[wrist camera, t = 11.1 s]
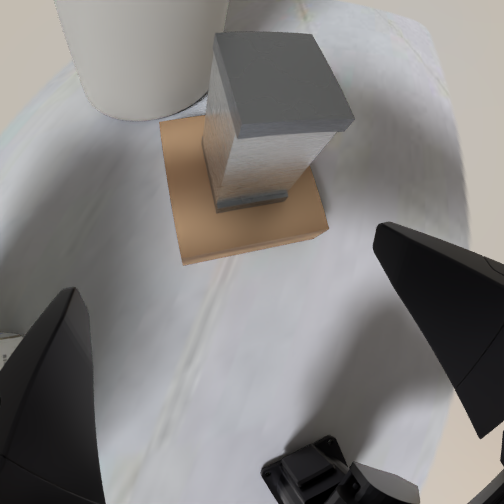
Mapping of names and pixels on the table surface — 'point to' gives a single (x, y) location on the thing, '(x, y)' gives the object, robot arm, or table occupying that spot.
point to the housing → (267, 115)
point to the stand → (232, 222)
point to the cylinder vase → (142, 52)
